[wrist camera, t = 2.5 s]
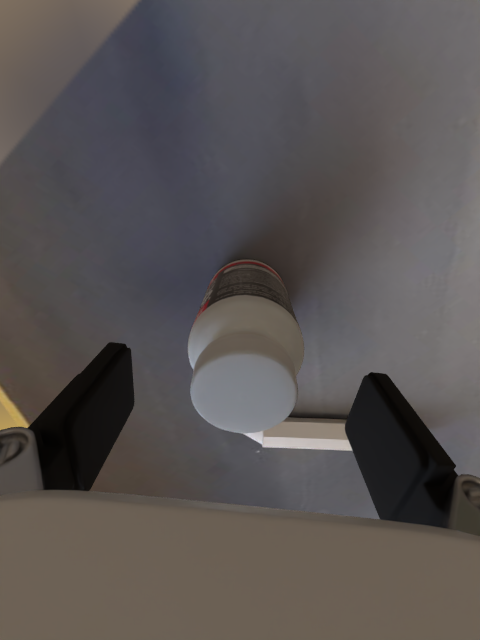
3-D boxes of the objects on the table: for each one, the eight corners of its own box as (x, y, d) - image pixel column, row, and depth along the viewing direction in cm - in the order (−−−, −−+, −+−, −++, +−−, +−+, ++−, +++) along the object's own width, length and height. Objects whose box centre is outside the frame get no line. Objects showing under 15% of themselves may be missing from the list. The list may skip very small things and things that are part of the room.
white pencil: (230, 412, 24) (410, 419, 24) (229, 436, 24) (410, 444, 24) (228, 421, 22) (430, 430, 21) (227, 448, 22) (431, 457, 21)
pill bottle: (200, 263, 18) (152, 341, 9) (282, 252, 17) (319, 322, 8) (215, 334, 20) (189, 452, 11) (288, 326, 19) (321, 442, 11)
